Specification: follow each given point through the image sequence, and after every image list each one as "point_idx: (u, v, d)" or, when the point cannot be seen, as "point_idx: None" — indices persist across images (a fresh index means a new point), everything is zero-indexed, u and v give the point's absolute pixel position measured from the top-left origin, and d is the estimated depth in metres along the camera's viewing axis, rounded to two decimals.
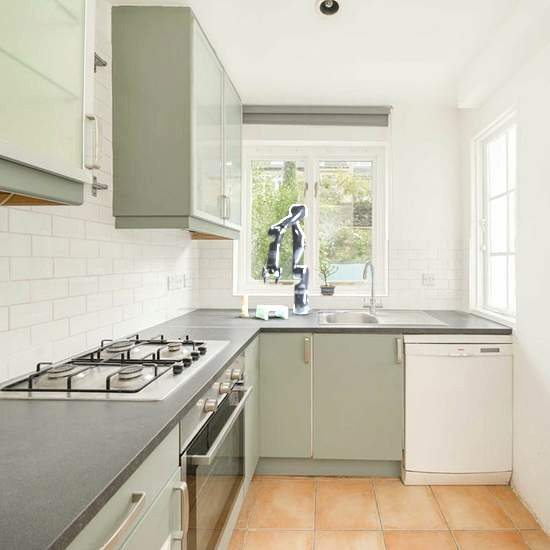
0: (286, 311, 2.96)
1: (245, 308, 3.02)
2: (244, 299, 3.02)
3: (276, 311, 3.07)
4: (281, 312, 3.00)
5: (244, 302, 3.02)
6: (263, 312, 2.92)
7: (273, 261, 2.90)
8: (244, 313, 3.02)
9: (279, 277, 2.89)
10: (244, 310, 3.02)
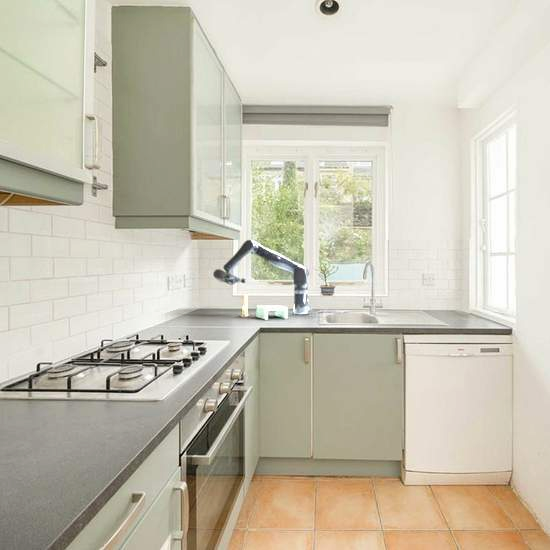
0: (286, 311, 2.96)
1: (245, 308, 3.02)
2: (244, 299, 3.02)
3: (276, 311, 3.07)
4: (281, 312, 3.00)
5: (244, 302, 3.02)
6: (263, 312, 2.92)
7: (227, 283, 3.22)
8: (244, 313, 3.02)
9: (227, 281, 3.12)
10: (244, 310, 3.02)
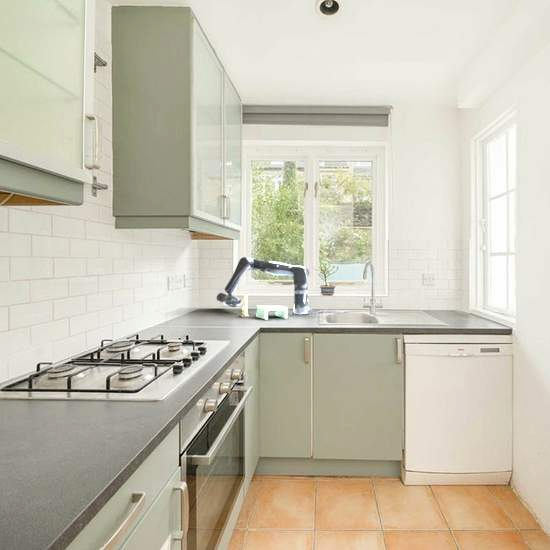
0: (286, 311, 2.96)
1: (245, 308, 3.02)
2: (244, 299, 3.02)
3: (276, 311, 3.07)
4: (281, 312, 3.00)
5: (244, 302, 3.02)
6: (263, 312, 2.92)
7: (229, 305, 3.23)
8: (244, 313, 3.02)
9: (228, 303, 3.13)
10: (244, 310, 3.02)
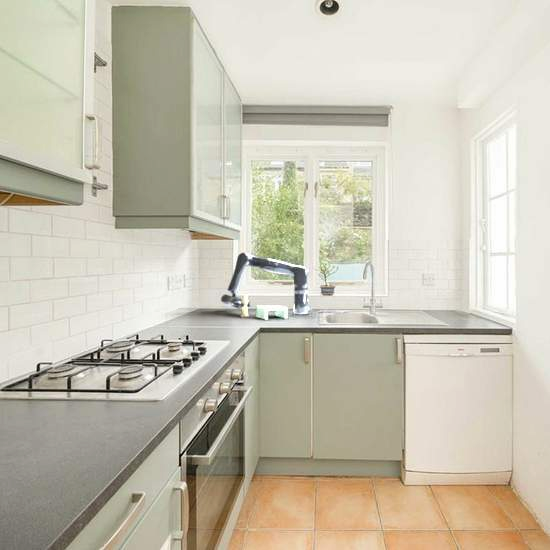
0: (286, 311, 2.96)
1: (245, 308, 3.02)
2: (244, 299, 3.02)
3: (276, 311, 3.07)
4: (281, 312, 3.00)
5: (244, 302, 3.02)
6: (263, 312, 2.92)
7: (234, 307, 3.14)
8: (244, 313, 3.02)
9: (238, 305, 3.03)
10: (244, 310, 3.02)
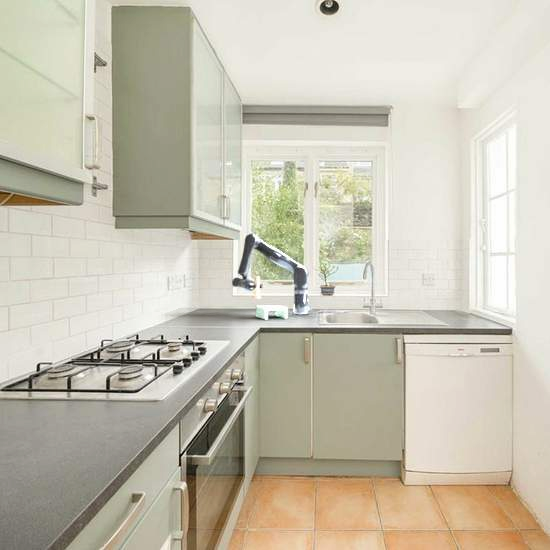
0: (286, 311, 2.96)
1: (257, 290, 3.00)
2: (256, 280, 2.99)
3: (276, 311, 3.07)
4: (281, 312, 3.00)
5: (256, 283, 3.00)
6: (263, 312, 2.92)
7: (246, 289, 3.11)
8: (256, 295, 3.00)
9: (250, 286, 3.01)
10: (256, 292, 3.00)
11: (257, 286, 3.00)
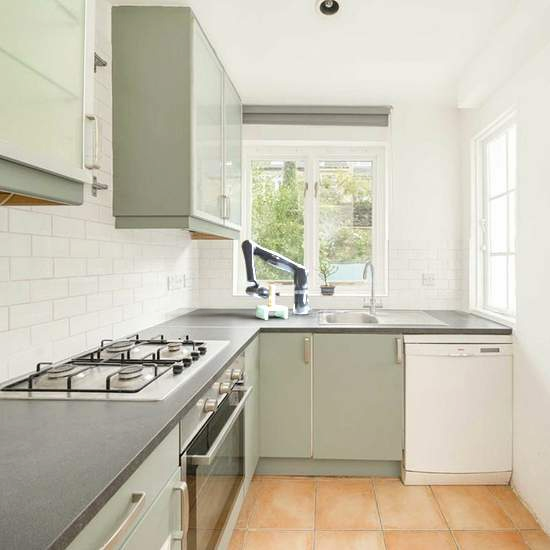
0: (286, 311, 2.96)
1: (272, 298, 2.98)
2: (271, 289, 2.97)
3: (276, 311, 3.07)
4: (281, 312, 3.00)
5: (271, 292, 2.97)
6: (263, 312, 2.92)
7: (260, 297, 3.09)
8: (271, 304, 2.98)
9: (261, 294, 2.98)
10: (271, 300, 2.97)
11: (272, 295, 2.97)
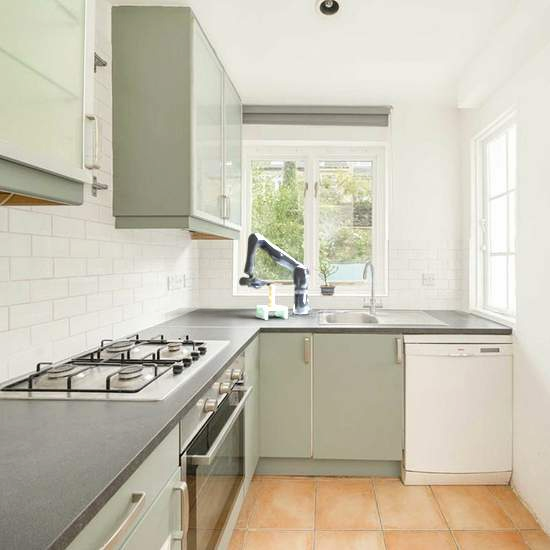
0: (286, 311, 2.96)
1: (272, 298, 2.98)
2: (271, 289, 2.97)
3: (276, 311, 3.07)
4: (281, 312, 3.00)
5: (271, 292, 2.97)
6: (263, 312, 2.92)
7: (253, 287, 3.20)
8: (271, 304, 2.98)
9: (253, 285, 3.10)
10: (271, 300, 2.97)
11: (272, 295, 2.97)
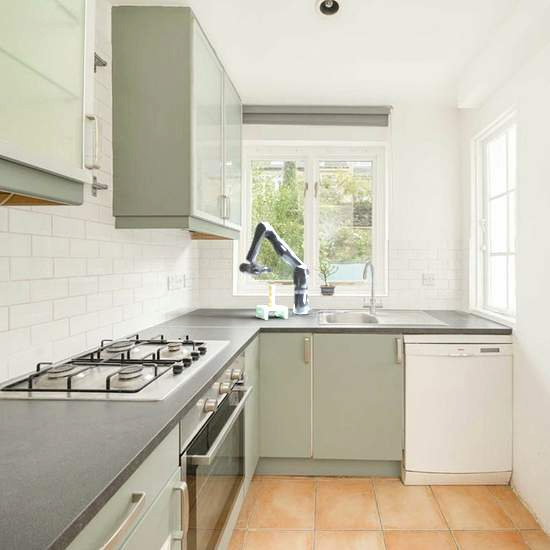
0: (286, 311, 2.96)
1: (272, 298, 2.98)
2: (271, 289, 2.97)
3: (276, 311, 3.07)
4: (281, 312, 3.00)
5: (271, 292, 2.97)
6: (263, 312, 2.92)
7: (253, 273, 3.20)
8: (271, 304, 2.98)
9: (253, 270, 3.09)
10: (271, 300, 2.97)
11: (272, 295, 2.97)
